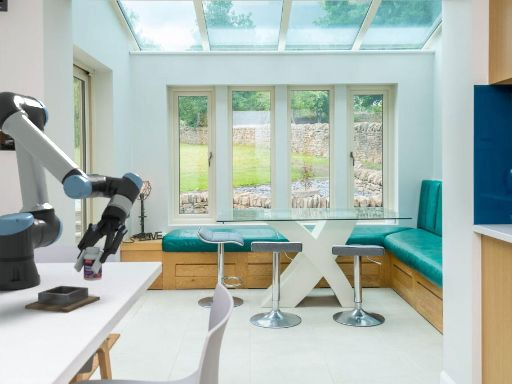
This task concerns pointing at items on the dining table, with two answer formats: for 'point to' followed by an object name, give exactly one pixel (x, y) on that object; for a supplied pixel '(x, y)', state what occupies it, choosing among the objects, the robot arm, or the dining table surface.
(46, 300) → the square framed tray
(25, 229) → the robot arm
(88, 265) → the pill bottle
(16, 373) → the dining table surface
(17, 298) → the dining table surface
